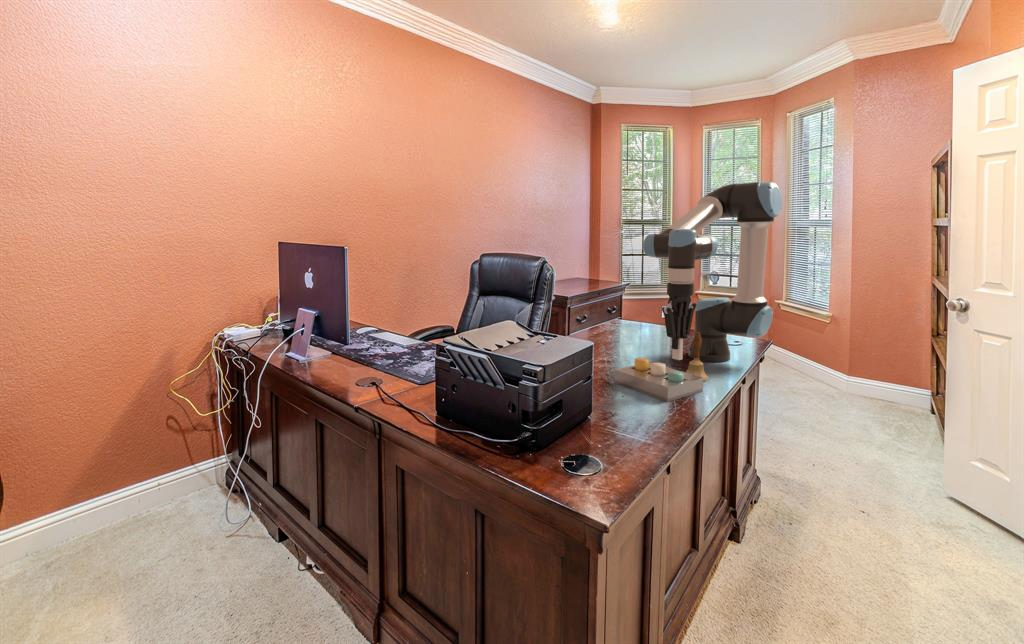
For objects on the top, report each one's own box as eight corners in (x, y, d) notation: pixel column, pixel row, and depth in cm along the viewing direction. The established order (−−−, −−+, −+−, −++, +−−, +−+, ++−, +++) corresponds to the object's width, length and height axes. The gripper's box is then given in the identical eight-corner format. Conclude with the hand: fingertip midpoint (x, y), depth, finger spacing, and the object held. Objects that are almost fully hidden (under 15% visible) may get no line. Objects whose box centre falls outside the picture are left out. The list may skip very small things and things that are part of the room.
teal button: (674, 383, 160) (674, 369, 159) (686, 387, 156) (687, 373, 155) (664, 386, 157) (664, 372, 156) (676, 390, 154) (676, 376, 153)
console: (648, 374, 176) (649, 362, 175) (702, 391, 158) (703, 377, 157) (614, 382, 168) (615, 369, 167) (667, 402, 150) (668, 387, 149)
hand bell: (710, 382, 167) (713, 335, 164) (684, 381, 169) (686, 334, 166) (706, 374, 175) (709, 329, 172) (680, 373, 177) (683, 329, 174)
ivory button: (657, 375, 165) (657, 361, 165) (668, 378, 162) (668, 365, 161) (647, 377, 163) (647, 364, 162) (658, 381, 159) (658, 367, 158)
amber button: (641, 370, 171) (641, 357, 170) (651, 373, 167) (652, 360, 166) (631, 372, 169) (631, 359, 168) (641, 375, 165) (642, 362, 164)
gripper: (684, 279, 157) (681, 352, 162) (655, 282, 150) (652, 359, 155) (705, 281, 151) (701, 357, 155) (675, 285, 144) (672, 365, 149)
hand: (677, 358), depth 155 cm, fingers closed
